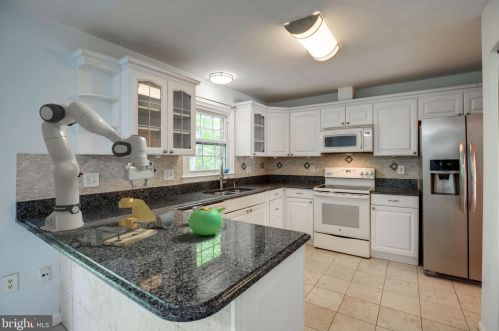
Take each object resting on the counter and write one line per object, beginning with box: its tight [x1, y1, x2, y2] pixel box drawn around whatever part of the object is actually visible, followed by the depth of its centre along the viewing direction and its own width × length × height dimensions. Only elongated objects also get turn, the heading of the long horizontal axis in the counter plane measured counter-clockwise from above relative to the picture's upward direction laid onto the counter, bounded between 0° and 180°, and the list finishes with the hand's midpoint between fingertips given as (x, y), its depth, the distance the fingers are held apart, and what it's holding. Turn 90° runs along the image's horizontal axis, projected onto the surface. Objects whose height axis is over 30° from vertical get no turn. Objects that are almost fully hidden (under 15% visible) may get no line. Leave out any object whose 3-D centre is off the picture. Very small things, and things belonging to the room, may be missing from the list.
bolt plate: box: [103, 228, 158, 248], centre depth 122 cm, size 12×22×2 cm, turn 163°
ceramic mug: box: [155, 212, 175, 230], centre depth 142 cm, size 11×8×8 cm
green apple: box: [188, 206, 227, 236], centre depth 128 cm, size 18×17×15 cm
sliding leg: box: [125, 218, 148, 229], centre depth 132 cm, size 12×4×5 cm, turn 73°
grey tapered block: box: [90, 226, 139, 247], centre depth 123 cm, size 12×26×7 cm, turn 163°
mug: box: [190, 205, 208, 215], centre depth 149 cm, size 11×8×10 cm
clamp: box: [118, 197, 156, 227], centre depth 154 cm, size 20×9×16 cm, turn 136°
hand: (139, 187), depth 140 cm, fingers open, 8 cm apart
